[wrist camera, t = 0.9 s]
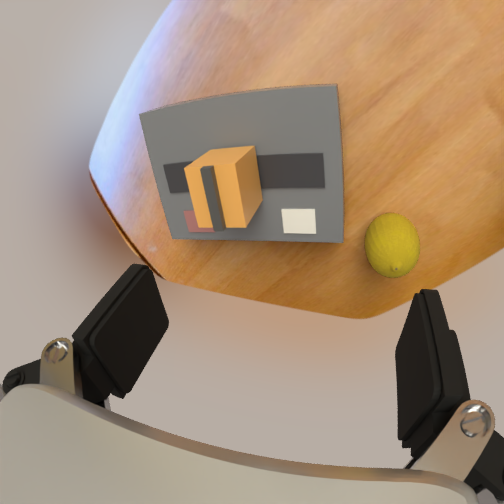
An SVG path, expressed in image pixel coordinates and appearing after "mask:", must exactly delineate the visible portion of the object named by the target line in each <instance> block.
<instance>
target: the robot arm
mask: <svg viewBox="0 0 504 504" xmlns="http://www.w3.org/2000/svg"><path fill="white" fill-rule="evenodd" d="M168 325H169V320H168V317H167V314H166V311H165V308H164V305H163V303H162V300H161V296H160V293H159V290H158V288H157V284H156V281H155V278H154V275H153V272H152V270H150V269H149V267H148V266H147V265H141V264H132V265H131V266H130V267H129V268H128V269H127V271H125V273H124V274H123V275H122V276H121V277H120V278H119V279H118V281H117V282H116V283H115V284H114V285H113V286H112V287H111V289H110V290H109V291H108V292H107V293H106V294H105V296H104V297H103V298H102V299H101V300H100V302H99V303H98V304H97V305H96V306H95V308H94V309H93V310H92V311H91V312H90V314H89V315H88V316H87V317H86V318H85V320H84V321H83V322H82V323H81V325H80V326H79V327H78V329H77V330H76V331H75V332H74V333H73V335H72V337H73V339H74V341H73V343H71V342H70V340H69V339H67V338H57V339H55V340H52V341H51V342H50V343H48V344H47V345H46V346H45V348H44V349H43V351H42V355H41V359H39V360H36V361H34V362H32V363H28V364H26V365H23V366H20V367H17V368H15V369H13V370H11V371H10V372H9V373H8V374H7V375H6V377H5V379H4V380H3V385H1V384H0V504H504V438H503V437H502V436H501V435H500V434H499V433H497V432H496V431H495V430H494V428H495V417H494V413H493V412H492V410H491V408H490V407H489V406H488V405H487V404H486V403H484V402H482V401H480V400H471V399H470V394H469V388H468V383H467V378H466V373H465V368H464V364H463V359H462V355H461V351H460V347H459V343H458V339H457V335H456V333H455V331H454V330H449V327H448V323H447V319H446V316H445V312H444V308H443V305H442V302H441V298H440V295H439V292H438V291H437V290H429V289H421V290H420V292H419V293H415V295H414V297H413V300H412V304H411V307H410V310H409V313H408V316H407V319H406V322H405V324H404V328H403V330H402V333H401V336H400V338H399V341H398V344H397V347H396V351H395V360H396V376H397V401H398V440H402V448H411V456H412V459H411V460H410V461H409V462H408V463H407V464H406V466H405V467H404V468H403V469H392V468H362V467H345V466H332V465H320V464H311V463H302V462H294V461H287V460H280V459H274V458H268V457H262V456H257V455H252V454H247V453H242V452H237V451H233V450H229V449H224V448H220V447H216V446H212V445H208V444H205V443H201V442H197V441H194V440H191V439H187V438H184V437H181V436H177V435H174V434H171V433H168V432H165V431H162V430H159V429H156V428H153V427H150V426H148V425H145V424H142V423H139V422H137V421H134V420H131V419H129V418H126V417H124V416H121V415H119V414H116V413H114V412H112V411H111V409H110V403H109V398H108V396H109V395H110V393H111V394H112V395H115V396H117V397H119V398H122V399H123V398H124V397H125V395H126V393H129V392H130V391H131V390H132V388H133V386H134V384H135V383H136V381H137V379H138V378H139V376H140V374H141V372H142V371H143V369H144V367H145V365H146V364H147V362H148V361H149V359H150V357H151V355H152V354H153V352H154V350H155V349H156V347H157V345H158V344H159V342H160V340H161V339H162V337H163V335H164V333H165V332H166V330H167V328H168Z"/></svg>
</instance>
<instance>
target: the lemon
mask: <svg viewBox="0 0 504 504" xmlns="http://www.w3.org/2000/svg"><path fill="white" fill-rule="evenodd" d="M365 251H366V255H367V258H368V261H369V262H370V264H371V266H372V267H373V268H374V269H375V270H376V271H377V272H378V273H379V274H381V275H383V276H385V277H389V278H397V277H401V276H404V275H406V274H407V273H409V272H410V271H411V270H412V269H413V268H414V266H415V265H416V263H417V261H418V258H419V254H420V240H419V236H418V233H417V230H416V229H415V227H414V226H413V224H412V223H411V222H410V221H409V220H408V219H407V218H406V217H404V216H402V215H400V214H396V213H386V214H383V215H380V216H378V217H377V218H375V219H374V220H373V221H372V222H371V224H370V225H369V227H368V229H367V232H366V235H365Z"/></svg>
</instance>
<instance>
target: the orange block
mask: <svg viewBox="0 0 504 504" xmlns="http://www.w3.org/2000/svg"><path fill="white" fill-rule="evenodd" d="M184 170H185V174H186V179H187V183H188V187H189V191H190V195H191V199H192V204H193V208H194V212H195V216H196V220H197V223H198V227H199V228H213V230H214V231H224V230H225V229H226V228H246V227H247V225H248V224H249V222H250V220H251V219H252V217H253V215H254V214H255V212H256V210H257V209H258V207H259V206H260V204H261V202H262V201H263V199H262V192H261V185H260V178H259V171H258V164H257V158H256V151H255V146H243V147H232V148H222V149H212V150H209V151H208V152H206V153H205V154H204V155H202V156H201V157H199V158H198V159H196V160H195V161H193V162H192V163H191V164H189V165H188V166H186V167H185V168H184Z"/></svg>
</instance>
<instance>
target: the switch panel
mask: <svg viewBox="0 0 504 504" xmlns="http://www.w3.org/2000/svg"><path fill="white" fill-rule="evenodd" d="M139 116H140V120H141V125H142V129H143V133H144V137H145V141H146V145H147V150H148V154H149V157H150V161H151V165H152V169H153V173H154V177H155V180H156V184H157V188H158V191H159V195H160V198H161V202H162V205H163V209H164V212H165V216H166V219H167V223H168V226H169V229H170V232H171V236H172V239H199V240H252V241H295V242H332V243H343V237H344V173H343V151H342V134H341V120H340V108H339V97H338V87H337V84H316V85H299V86H286V87H275V88H265V89H256V90H249V91H241V92H234V93H228V94H221V95H215V96H210V97H204V98H199V99H194V100H189V101H184V102H180V103H175V104H171V105H166V106H163V107H160V108H156V109H153V110H150V111H147V112H144V113H141V114H139ZM243 146H255V151H256V158H257V164H258V171H259V178H260V185H261V192H262V199H263V201H262V202H261V204H260V206H259V207H258V209H257V210H256V212H255V214H254V215H253V217H252V219H251V220H250V222H249V224H248V225H247V227H246V228H226V229H225V230H224V231H214V230H213V228H199V227H198V223H197V220H196V216H195V212H194V208H193V204H192V199H191V195H190V191H189V187H188V183H187V179H186V174H185V170H184V168H185V167H186V166H188V165H189V164H191V163H192V162H193V161H195V160H196V159H198V158H199V157H201V156H202V155H204V154H205V153H206V152H208V151H209V150H212V149H222V148H232V147H243Z"/></svg>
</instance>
